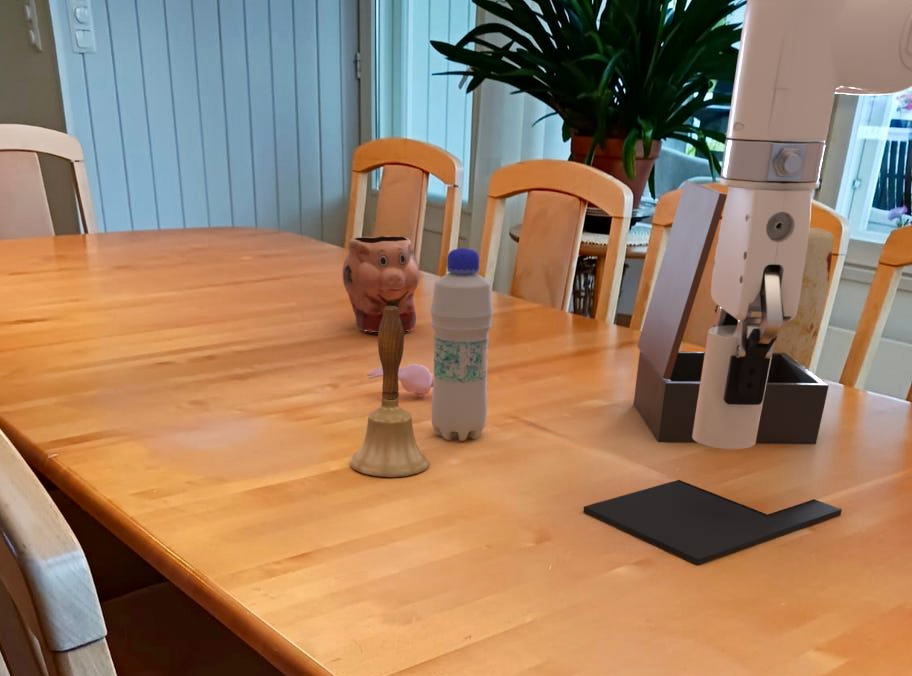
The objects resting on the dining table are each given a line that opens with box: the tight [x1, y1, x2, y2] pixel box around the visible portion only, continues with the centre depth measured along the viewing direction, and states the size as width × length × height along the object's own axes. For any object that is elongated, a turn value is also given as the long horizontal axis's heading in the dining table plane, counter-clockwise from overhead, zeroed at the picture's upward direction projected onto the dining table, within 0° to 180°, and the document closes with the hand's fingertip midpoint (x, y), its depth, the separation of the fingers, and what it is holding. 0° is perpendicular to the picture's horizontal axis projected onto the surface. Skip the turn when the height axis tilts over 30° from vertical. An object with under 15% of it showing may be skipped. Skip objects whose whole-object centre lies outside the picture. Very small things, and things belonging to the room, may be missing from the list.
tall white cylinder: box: [692, 325, 775, 451], centre depth 86 cm, size 6×6×10 cm
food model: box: [751, 227, 834, 369], centre depth 126 cm, size 10×7×20 cm
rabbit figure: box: [366, 363, 434, 398], centre depth 123 cm, size 6×6×15 cm
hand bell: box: [349, 306, 430, 478], centre depth 98 cm, size 8×8×16 cm
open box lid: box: [636, 180, 727, 379], centre depth 106 cm, size 18×15×1 cm
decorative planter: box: [342, 235, 421, 332], centre depth 156 cm, size 20×12×14 cm, turn 22°
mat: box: [583, 479, 843, 566], centre depth 91 cm, size 20×14×1 cm
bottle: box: [430, 247, 494, 442], centre depth 106 cm, size 7×7×20 cm
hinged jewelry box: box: [633, 350, 830, 445], centre depth 112 cm, size 18×15×7 cm
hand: (732, 391), depth 86 cm, fingers closed on tall white cylinder, 5 cm apart
